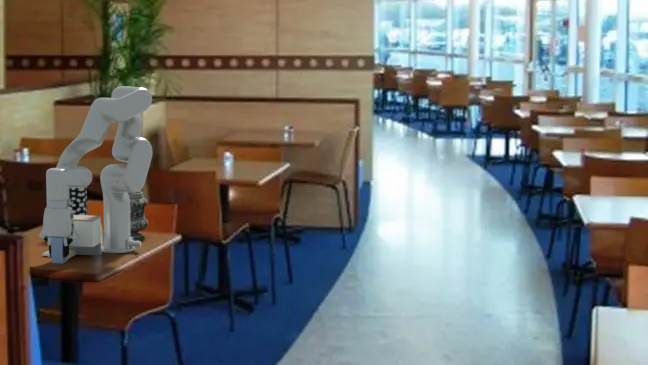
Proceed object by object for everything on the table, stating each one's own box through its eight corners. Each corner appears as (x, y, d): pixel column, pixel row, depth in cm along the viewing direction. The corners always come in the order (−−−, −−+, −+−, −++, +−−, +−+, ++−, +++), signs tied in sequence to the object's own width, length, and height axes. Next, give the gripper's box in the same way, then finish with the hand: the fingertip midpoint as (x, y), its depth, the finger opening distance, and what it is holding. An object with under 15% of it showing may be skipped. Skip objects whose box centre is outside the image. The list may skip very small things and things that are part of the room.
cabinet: (101, 254, 350) (101, 215, 348) (93, 259, 342) (92, 220, 340) (69, 253, 352) (68, 214, 350) (59, 258, 344) (59, 218, 342)
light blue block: (77, 254, 349) (77, 229, 348) (62, 263, 336) (61, 237, 334) (66, 254, 349) (66, 229, 348) (51, 262, 336) (50, 237, 335)
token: (61, 255, 350) (61, 251, 350) (56, 258, 345) (56, 254, 345) (47, 254, 351) (47, 250, 351) (42, 257, 346) (42, 253, 346)
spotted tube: (89, 231, 391) (88, 182, 388) (85, 235, 383) (84, 185, 380) (68, 231, 391) (67, 182, 388) (63, 235, 382) (62, 185, 380)
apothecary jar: (127, 233, 388) (127, 188, 386) (154, 236, 384) (153, 191, 382) (110, 239, 377) (110, 193, 375) (138, 242, 373) (137, 195, 370)
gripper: (85, 203, 338) (86, 255, 340) (39, 201, 340) (40, 253, 342) (77, 206, 330) (78, 259, 333) (30, 204, 332) (31, 257, 335)
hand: (59, 255), depth 338 cm, fingers closed on light blue block, 4 cm apart
